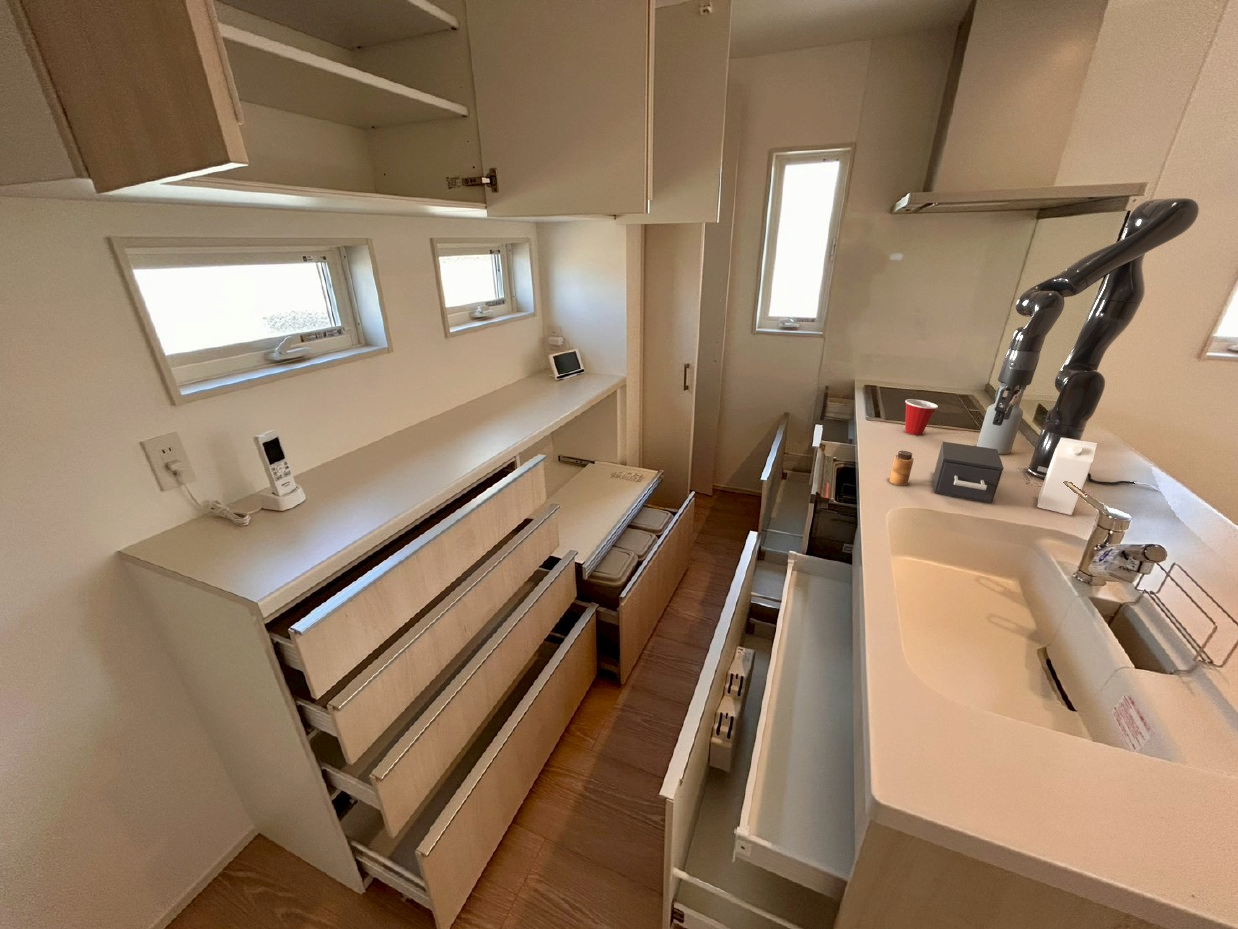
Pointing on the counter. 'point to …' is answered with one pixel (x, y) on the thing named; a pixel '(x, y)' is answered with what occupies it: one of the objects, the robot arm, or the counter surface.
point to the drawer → (968, 481)
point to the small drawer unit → (966, 461)
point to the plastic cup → (918, 415)
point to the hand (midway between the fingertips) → (1000, 421)
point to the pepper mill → (901, 468)
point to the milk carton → (1066, 475)
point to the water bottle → (1007, 431)
